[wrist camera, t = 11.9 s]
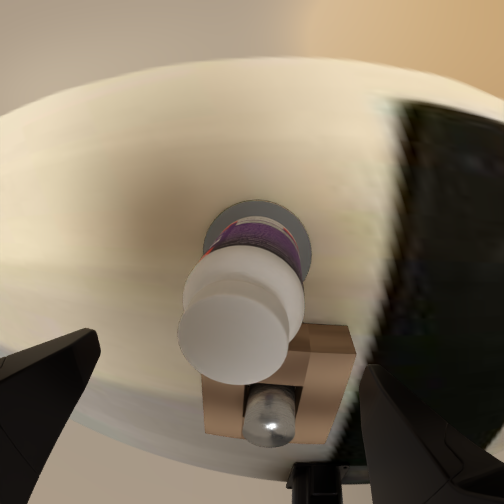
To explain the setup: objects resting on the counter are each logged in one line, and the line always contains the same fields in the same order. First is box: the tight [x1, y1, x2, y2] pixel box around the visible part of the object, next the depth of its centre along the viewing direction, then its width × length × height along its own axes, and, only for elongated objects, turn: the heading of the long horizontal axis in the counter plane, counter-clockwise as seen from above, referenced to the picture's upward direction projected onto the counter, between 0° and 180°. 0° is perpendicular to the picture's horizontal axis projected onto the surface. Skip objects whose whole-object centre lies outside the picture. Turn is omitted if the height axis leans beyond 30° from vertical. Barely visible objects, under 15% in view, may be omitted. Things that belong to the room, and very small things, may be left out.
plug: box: [242, 383, 295, 448], centre depth 20 cm, size 3×3×6 cm
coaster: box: [203, 200, 312, 281], centre depth 20 cm, size 7×7×1 cm
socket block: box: [201, 323, 356, 444], centre depth 21 cm, size 10×10×4 cm
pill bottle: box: [178, 216, 305, 385], centre depth 15 cm, size 5×5×10 cm
